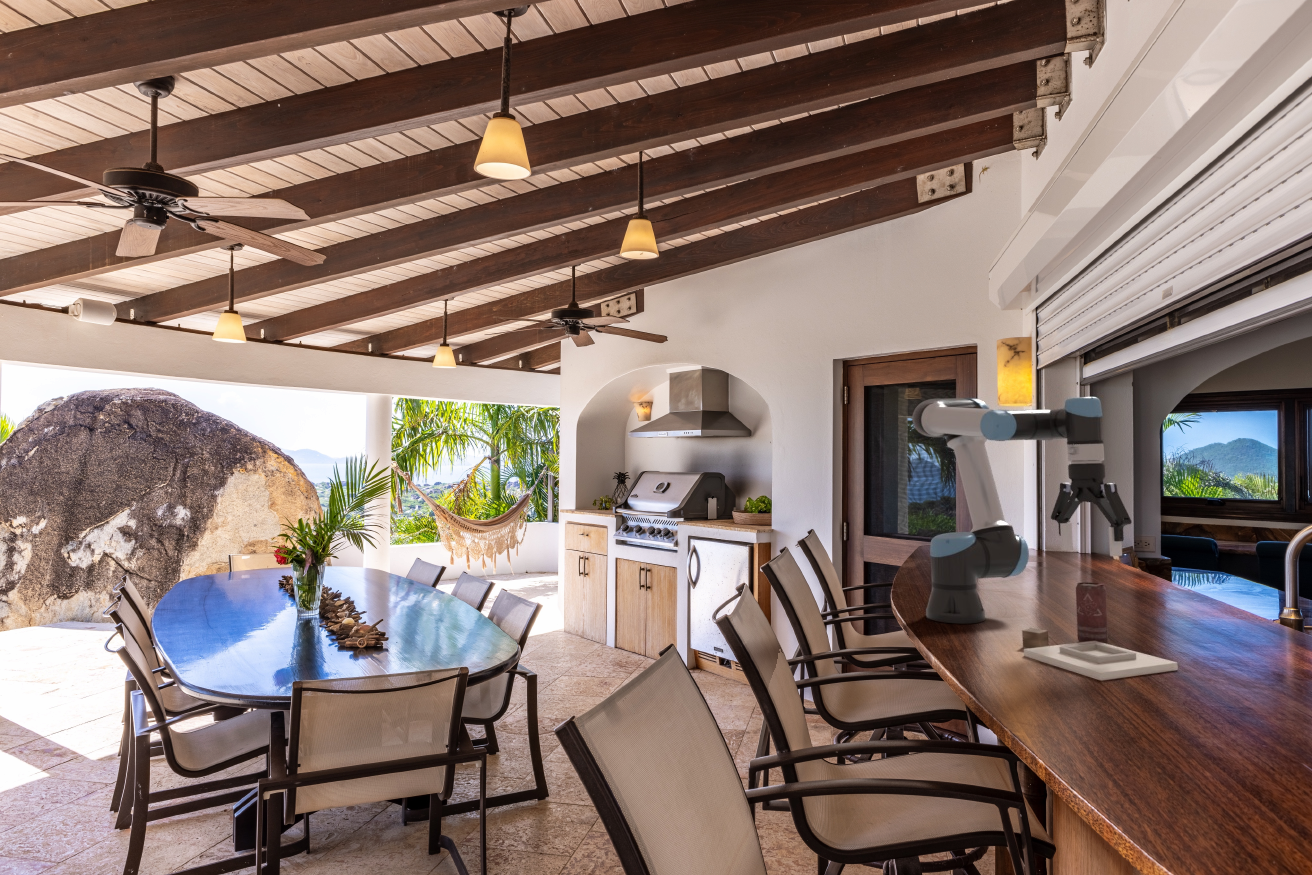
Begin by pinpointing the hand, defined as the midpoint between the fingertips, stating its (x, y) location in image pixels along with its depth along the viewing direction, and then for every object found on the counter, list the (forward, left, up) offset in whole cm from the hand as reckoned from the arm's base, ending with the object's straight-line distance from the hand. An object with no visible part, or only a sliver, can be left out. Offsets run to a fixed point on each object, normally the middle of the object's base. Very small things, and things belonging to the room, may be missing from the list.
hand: (1090, 552), depth 174 cm
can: (-1, +1, -22) cm, 22 cm away
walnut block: (-3, -14, -22) cm, 26 cm away
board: (+12, -12, -21) cm, 27 cm away
